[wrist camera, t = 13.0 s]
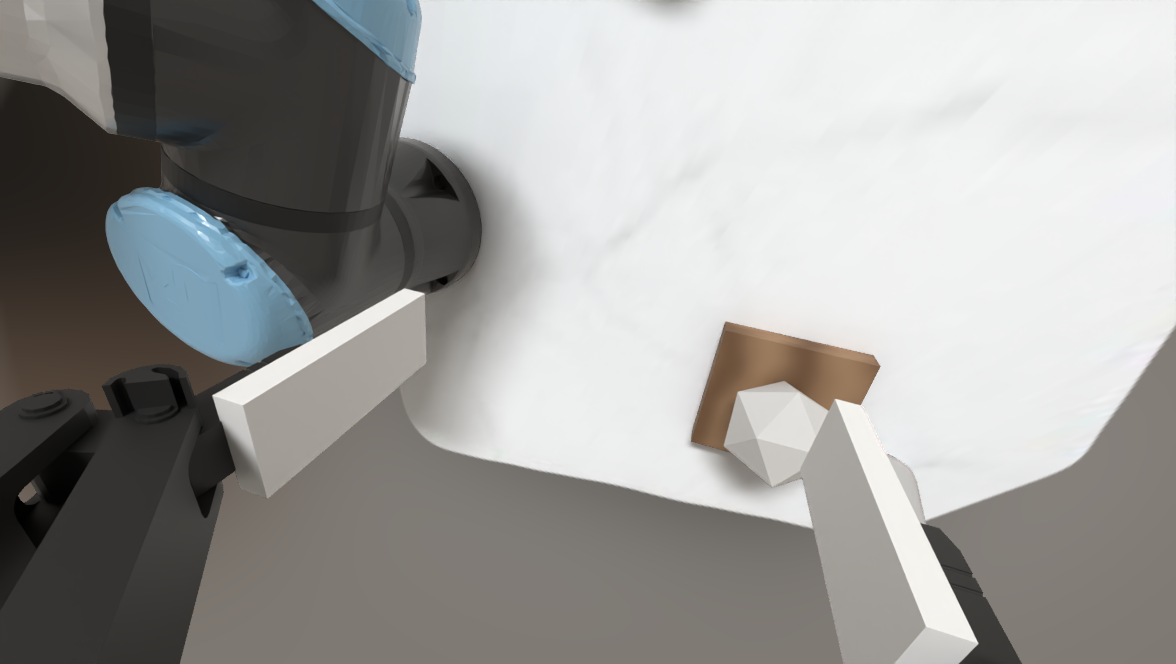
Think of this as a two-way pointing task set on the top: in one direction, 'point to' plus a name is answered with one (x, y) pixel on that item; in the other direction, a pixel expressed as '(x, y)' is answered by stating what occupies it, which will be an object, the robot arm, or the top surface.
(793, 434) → the die
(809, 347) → the walnut board
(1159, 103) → the top surface
